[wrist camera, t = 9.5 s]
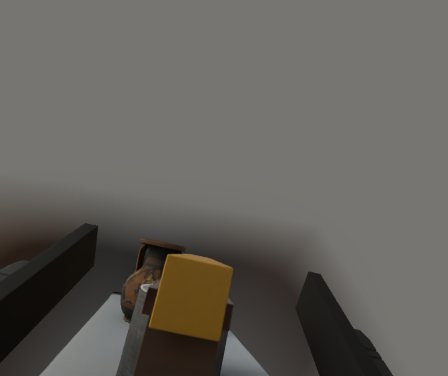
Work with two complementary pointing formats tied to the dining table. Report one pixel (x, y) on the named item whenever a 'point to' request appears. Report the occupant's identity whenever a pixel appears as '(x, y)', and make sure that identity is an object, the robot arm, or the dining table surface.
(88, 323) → the dining table surface
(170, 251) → the vase
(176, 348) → the stand
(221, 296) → the yellow bar
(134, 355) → the planter
